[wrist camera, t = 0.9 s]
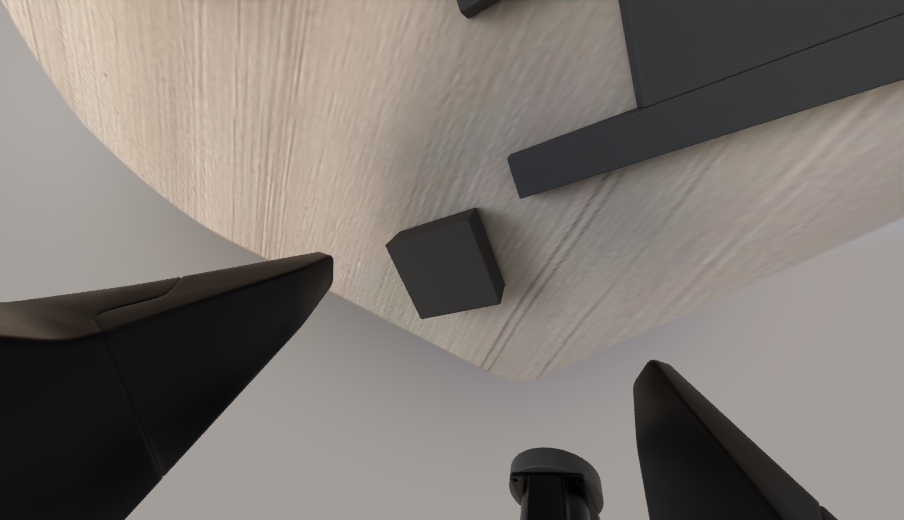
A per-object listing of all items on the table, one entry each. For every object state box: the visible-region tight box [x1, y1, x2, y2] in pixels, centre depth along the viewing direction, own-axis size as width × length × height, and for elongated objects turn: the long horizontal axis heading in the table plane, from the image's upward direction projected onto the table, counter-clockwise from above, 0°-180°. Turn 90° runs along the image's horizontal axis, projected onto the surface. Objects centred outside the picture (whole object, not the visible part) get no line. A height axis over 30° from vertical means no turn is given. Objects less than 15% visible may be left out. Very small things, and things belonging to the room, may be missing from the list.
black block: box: [386, 208, 505, 319], centre depth 22 cm, size 6×6×2 cm
